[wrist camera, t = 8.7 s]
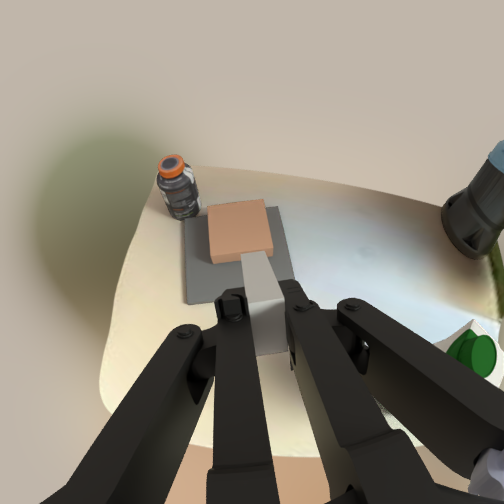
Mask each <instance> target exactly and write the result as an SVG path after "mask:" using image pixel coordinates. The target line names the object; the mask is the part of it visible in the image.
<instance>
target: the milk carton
mask: <svg viewBox="0 0 504 504" xmlns="http://www.w3.org/2000/svg"><path fill="white" fill-rule="evenodd" d="M433 345H435V346H436V347H438V348H439V349H441V350H442V351H444V352H445V353H447V354H448V355H450V356H451V357H453V358H454V359H456V360H457V361H459V362H460V363H462V364H463V365H465V366H467V367H468V368H470V369H471V370H473V371H474V372H476V373H477V374H479V375H480V376H481V377H483V378H484V379H486V380H487V381H489V382H490V383H492V384H493V385H495V386H496V387H498V388H499V386H500V383H501V380H502V378H503V375H504V352H503V351H502V350H501V348H500V345H499V344H498V343H497V342H496V341H495V340H494V339H493V338H492V337H491V336H490V335H489V334H488V333H487V332H486V331H485V330H484V329H483V327H482V326H481V325H480V324H479V323H478V322H477V321H476V320H475V319H472V320H471V321H470V322H469V323H467V324H466V325H465V326H463V327H462V328H461V329H459V330H458V331H457V332H455V333H454V334H452V335H451V336H450V337H448V338H447V339H444V340H442V341H439V342H437V343H434V344H433Z"/></svg>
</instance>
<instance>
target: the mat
mask: <svg viewBox="0 0 504 504" xmlns="http://www.w3.org/2000/svg"><path fill="white" fill-rule="evenodd" d="M265 209H266V214H267V219H268V223H269V228H270V233H271V238H272V243H273V256H270V257H267V258H268V260H269V263H270V265H271V267H272V270H273V272H274V274H275V277H276V279H277V281H281V280H288V279H294V280H295V277H294V273H293V268H292V264H291V259H290V255H289V251H288V246H287V242H286V238H285V234H284V229H283V225H282V221H281V217H280V213H279V209H278V206H276V207H268V208H265ZM185 263H186V287H187V304H188V305H195V304H203V303H212V302H214V301H215V299H216V298H218V297H219V296H221V295H222V293H223V292H224V291H225V290H226V289H231V288H238V287H245V285H244V278H243V270H242V262H241V260H240V261H233V262H225V263H217V264H213V262H212V259H211V256H210V242H209V227H208V215H207V216H200V217H193V218H186V219H185Z"/></svg>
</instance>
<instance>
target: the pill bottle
mask: <svg viewBox="0 0 504 504" xmlns="http://www.w3.org/2000/svg"><path fill="white" fill-rule="evenodd" d="M158 170H159V173H158V175H157V184H158V186H159V189H160V191H161V193H162V196H163V198H164V200H165V203H166V205H167V207H168V210H169V212H170V214H171V216H172V217H173V218H175V219H177V220H185V219H186V218H193V217H194V216H196V215H197V214H198V213H199V211H200V209H201V200H200V196H199V193H198V189H197V185H196V182H195V178H194V174H193V171H192V168H191V167H190V166H189V165H188V164H186V163H184V161H183V158H182V157H181V156H179V155H169V156H166V157H164V158H163V159H162V160H161V161H160V162H159V164H158Z"/></svg>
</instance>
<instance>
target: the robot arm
mask: <svg viewBox="0 0 504 504" xmlns="http://www.w3.org/2000/svg"><path fill="white" fill-rule="evenodd" d="M441 216H442V222H443V226H444V228H445V231H446V233H447V235H448V236H449V238H450V240H451V241H452V243H453V244H454V245H455V246H456V247H457V248H458V250H460V251H461V252H462V253H463V254H464V255H466V256H467V257H469V258H472V259H477V260H478V259H482V258H484V257H485V256H486V255H488V254H489V253H490V252H491V251H492V249H493V247H494V245H495V243H496V241H497V239H498V237H499V235H500V233H501V231H502V230H503V229H504V140H503V141H500V142H499V143H498V144H497V145H496V147H495V148H494V149H493V151H492V152H490V153H489V155H488V159H487V160H486V162H485V163H484V165H483V166H482V167H481V169H480V170H479V172H478V173H477V174H476V176H475V177H474V178H473V180H472V181H471V183H470V184H469V185H468V187H466V188H465V189H463V190H461V191H459V192H458V193H456V194H454V195H453V196H451V197H450V198H449V199H448V200H447V201H446V203H445V204H444V205H443V207H442V212H441ZM241 262H242V270H243V278H244V285H245V287H238V288H231V289H226V290H225V291H224V292H223V293H222V295H221V296H219V297H218V298H216V299H215V301H214V304H215V309H216V314H217V318H218V324H217V325H215V326H214V327H212V328H209V329H206V330H203V331H201V329H200V327H199V326H197V325H194V324H184V325H180V326H178V327H176V328H174V329H173V330H172V331H171V332H170V333H169V335H168V336H167V337H166V339H165V340H164V342H163V343H162V344H161V346H160V347H159V349H158V350H157V351H156V353H155V354H154V356H153V357H152V358H151V360H150V361H149V363H148V364H147V365H146V367H145V368H144V370H143V371H142V373H141V374H140V375H139V377H138V378H137V380H136V381H135V383H134V384H133V385H132V387H131V388H130V390H129V391H128V393H127V394H126V396H125V397H124V398H123V400H122V401H121V403H120V404H119V406H118V407H117V409H116V410H115V412H114V413H113V415H112V416H111V417H110V419H109V420H108V422H107V423H106V425H105V426H104V428H103V429H102V431H101V433H100V434H99V435H98V437H97V438H96V440H95V441H94V443H93V444H92V446H91V447H90V449H89V450H88V452H87V453H86V455H85V456H84V458H83V459H82V461H81V463H80V464H79V466H78V467H77V469H76V470H75V472H74V473H73V475H72V476H71V478H70V479H69V481H68V482H67V484H66V485H65V486H63V487H62V488H61V489H59V490H58V491H57V492H55V493H54V494H53V495H51V496H50V497H48V498H47V499H46V500H44V501H43V502H41V503H40V504H164V503H165V501H166V498H167V496H168V493H169V491H170V488H171V486H172V484H173V481H174V479H175V476H176V474H177V471H178V469H179V467H180V464H181V462H182V459H183V457H184V454H185V452H186V449H187V447H188V445H189V442H190V440H191V437H192V435H193V432H194V430H195V427H196V425H197V422H198V420H199V417H200V415H201V412H202V410H203V407H204V405H205V402H206V400H207V397H208V394H209V392H210V389H211V387H212V384H213V382H214V376H215V391H214V427H213V466H212V468H211V469H209V470H208V473H207V482H206V486H207V487H206V504H280V501H279V495H278V489H277V483H276V478H275V472H274V465H273V459H272V453H271V447H270V441H269V435H268V429H267V423H266V417H265V411H264V405H263V398H262V392H261V386H260V379H259V373H258V366H257V360H256V356H261V355H268V354H274V353H280V352H286V351H288V345H289V348H290V364H291V370H293V369H294V372H295V375H296V378H297V382H298V385H299V388H300V391H301V395H302V398H303V401H304V404H305V408H306V411H307V414H308V417H309V421H310V424H311V427H312V430H313V434H314V437H315V440H316V444H317V447H318V450H319V453H320V457H321V459H322V463H323V467H324V470H325V473H326V476H327V480H328V483H329V488H330V499H331V501H329V502H327V503H325V504H504V392H503V391H502V390H501V389H499V388H498V387H496V386H495V385H493V384H492V383H490V382H489V381H487V380H486V379H484V378H483V377H481V376H480V375H479V374H477V373H476V372H474V371H473V370H471V369H470V368H468V367H467V366H465V365H463V364H462V363H460V362H459V361H457V360H456V359H454V358H453V357H451V356H450V355H448V354H447V353H445V352H444V351H442V350H441V349H439V348H438V347H436V346H435V345H433V344H431V343H430V342H428V341H427V340H425V339H424V338H422V337H421V336H419V335H417V334H416V333H414V332H413V331H411V330H410V329H408V328H407V327H405V326H403V325H402V324H400V323H399V322H397V321H396V320H394V319H392V318H391V317H389V316H388V315H386V314H384V313H383V312H381V311H380V310H378V309H377V308H375V307H373V306H372V305H370V304H369V303H367V302H365V301H363V300H361V299H357V298H348V299H344V300H342V301H340V302H339V303H338V304H337V309H335V310H326V309H320V307H319V306H318V304H317V303H316V302H314V301H312V300H309V299H308V297H307V296H306V294H305V292H304V291H303V289H302V287H301V286H300V284H299V282H297V281H296V280H294V279H288V280H281V281H277V279H276V277H275V274H274V272H273V270H272V267H271V265H270V263H269V260H268V258H267V255H266V253H265V251H259V252H252V253H245V254H241ZM365 342H366V343H367V345H368V347H367V346H366V345H365V344H364V343H365ZM371 394H372V395H373V396H374V397H375V398H376V399H377V400H378V401H379V402H380V403H381V404H382V405H383V406H384V407H385V408H386V409H387V410H388V411H389V412H390V413H391V414H392V415H393V416H394V417H395V418H396V419H397V420H398V421H399V422H400V423H401V424H402V425H403V426H404V427H406V428H407V429H408V430H409V431H410V432H411V433H412V434H413V435H414V436H415V437H416V438H417V439H418V440H419V441H420V442H421V443H422V444H423V445H424V446H425V447H426V448H428V449H429V450H430V451H431V452H432V453H433V454H434V455H435V456H436V457H437V458H438V459H439V460H441V462H442V463H444V464H445V465H446V466H447V467H449V468H450V469H451V470H452V471H454V472H455V473H457V474H459V475H460V476H462V477H464V478H467V479H469V480H471V482H470V484H469V487H468V492H469V493H466V492H463V491H459V490H456V489H452V488H449V487H446V486H443V485H440V484H437V483H434V481H433V479H432V477H431V475H430V474H429V472H428V470H427V468H426V466H425V465H424V463H423V461H422V459H421V457H420V456H419V454H418V452H417V450H416V449H415V447H414V445H413V444H412V442H411V440H410V438H409V437H408V435H407V434H406V433H405V432H404V431H403V430H401V429H395V430H393V429H392V428H391V427H390V426H389V425H388V423H387V421H386V419H385V417H384V416H383V414H382V412H381V410H380V409H379V407H378V405H377V403H376V402H375V400H374V398H373V396H372V395H371ZM478 495H480V496H478Z"/></svg>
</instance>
